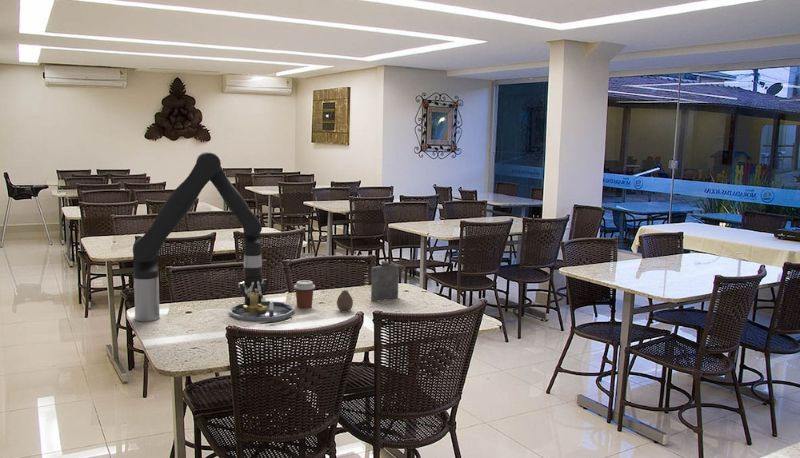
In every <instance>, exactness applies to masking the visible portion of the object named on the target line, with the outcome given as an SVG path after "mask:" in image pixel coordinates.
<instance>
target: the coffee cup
mask: <svg viewBox="0 0 800 458" xmlns="http://www.w3.org/2000/svg"><path fill="white" fill-rule="evenodd" d="M293 288H294V289H295V298H296V307H297V308H299V309H312V308H313V299H314V289H315V288H316V285H315V284H314V282H313V281H312V280H305V279H304V280H298V281H296V284H294V285H293Z"/></svg>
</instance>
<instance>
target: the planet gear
mask: <svg viewBox="0 0 800 458" xmlns="http://www.w3.org/2000/svg"><path fill="white" fill-rule="evenodd" d="M258 306H262V304H259V294H258V293H250V306H247V305H243V309H244V310H245V311H257V307H258Z"/></svg>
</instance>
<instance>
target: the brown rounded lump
mask: <svg viewBox="0 0 800 458" xmlns="http://www.w3.org/2000/svg"><path fill="white" fill-rule="evenodd" d="M353 305H354V300H353V297H352V296H351V294H350V293H349V290H348V289H347V290H344V289H343V290H342V291H341V293H340V294H339V295H338V297H337V299H336V306H337V307H336V308H337V309H338V310H339V311H340V312H342V311H347V312H349V310H350V311H351V310H352V308H353Z"/></svg>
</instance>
